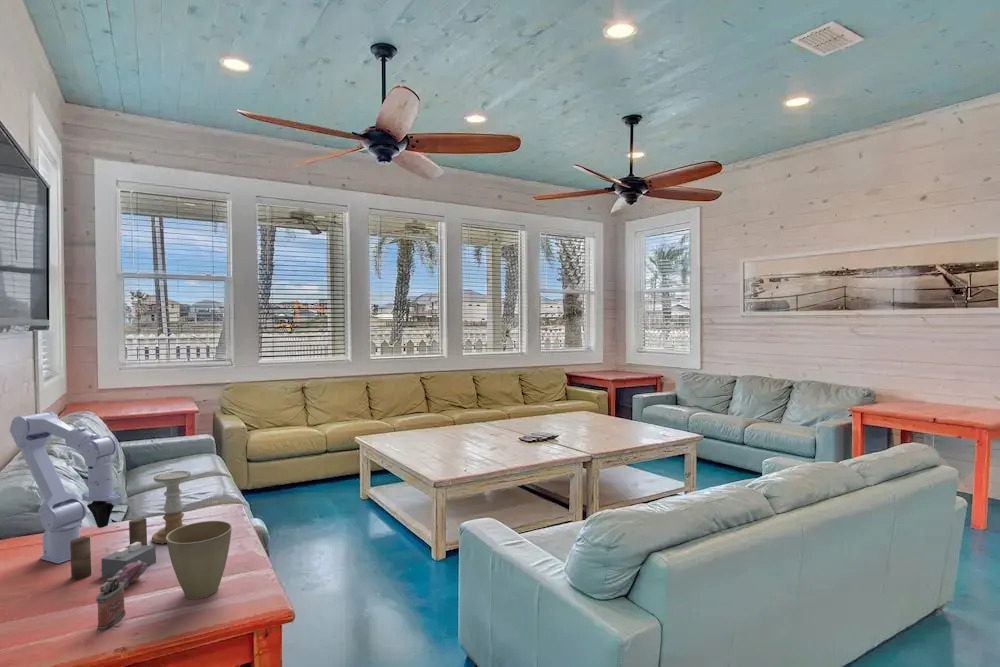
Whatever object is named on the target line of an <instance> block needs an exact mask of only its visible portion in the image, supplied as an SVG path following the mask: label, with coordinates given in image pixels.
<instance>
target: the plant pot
mask: <svg viewBox="0 0 1000 667" xmlns="http://www.w3.org/2000/svg"><path fill="white" fill-rule="evenodd" d="M232 530H233V525H232V524H231V523H230V522H227V521H224V520H206V521H205V520H204V521H198V522H192V523H189V524H186V525H185V526H182V527H179V528H177V529H175V530H173V531H171V532H170V533H169V534H168V535H167V536H166V541H167V544H166V546H167V549H168V550H167V551H168V555H169V558H170V561H171V562H170V563H171V565H172V568H173V571H174V574H175V577H176V578H177V581H178V583H179V585H180V587H181V590H182V592H183V593H184V596H185V597H186V598H187V599H189V598H191V599H192V600H196V598H200V599H202V598H201V597H204V598H206V597H205V596H207V597H209V596H208V595H210V596H212V595H214V594H215V593H216V592H217V591H218V590H219V587H220V585H221V581H222V579H223V575H224V571H225V568H226V564H227V559H228V557H229V550H230V546H231V539H232V538H231V537H232ZM214 592H215V593H214ZM213 593H214V594H213ZM211 594H212V595H211ZM191 599H190V600H191Z"/></svg>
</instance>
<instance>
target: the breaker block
mask: <svg viewBox="0 0 1000 667" xmlns="http://www.w3.org/2000/svg"><path fill="white" fill-rule="evenodd" d="M156 548H157V547H156V545H155V546H154V545H147V546H146V545H141V542H135V543H133V544H131V545H130V544H129V545H127V546H126V547H122V548H120V549H119V550H116V551H115V552H113V553H111V554H108V555H106V556H104V557H102V558H101V576H102V577H108V578H112V577H113V576H114V575H115V574H116V573H117V572H118V571H119V570H121V569H123V568H124V567H125V566H126V565H127V564H130V563H133V562H137V561H138V560H139V561H140V562H144V563H146V564H148V567H147V568H149V567H150V566H152V565H154V564H156V563H157V558H156V557H157V555H156V553H157V552H156V551H157V550H156Z"/></svg>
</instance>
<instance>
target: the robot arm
mask: <svg viewBox="0 0 1000 667" xmlns="http://www.w3.org/2000/svg"><path fill="white" fill-rule="evenodd" d="M9 433H10V434H11V437H12V438H13V441H14V443H15V445H16V447H17V448H19V450H20V452H21V455H22V456H23V459H24V460H25V462H26V464H27V467H28V469H29V471H30V473H31V475H32V477H33V479H34V481H35V483H36V486H37V487H38V489H39V491H40V493H41V495H42V497H43V499H44V500H43V502H42V504H41V505H40V507H39V508H38V509H37V512H38V515H39V518H40V520H39V521H40V524H41V526H42V528H43V529H44V530H45V531H44V532H43V535H42V556H39V559H40V558H41V559H40V560H44V561H47V562H51V563H55V564H58V565H59V564H62V563H65V562H68V561H71V552H70V541H72V540H74V539H76V538H81V536H80V535H81V534H80V533H81V531H80V525H81V524H83V520H84V519H85V518H86V515H87V508H88V510H89V511H90V512H91V514H92V517H93V519H94V521H95V524H96V527H97V528H99V529H101V528H105V527H108V525H109V521H110V519H111V518H110V517H111V514H112V511H113V509H114V508H115V506H116V505H118V504H122V496H120V495H118V494H116V493H115V492H114V489H113V488H114V484H113V464H112V456H113V455H115V452H116V450H117V444H116V441H115V440H114V439H113V438H112V437H111V436H110V435H104V436H99V435H98V434H97V433H93V432H91V431H88V430H87V428H86V427H84V426H82V427H75V428H74V427H72V426H70V425H69V424H67V423H65V422H64V421H63V420H61V419H59V415H58V414H57V413H54V412H53V411H45V412H41V413H40V412H39V413H35V414H27V415H18V416H16V417H14V418H13V419H12V420H11V423H10V427H9ZM53 436H56V437H59V438H60V439H63V440H64V441H65V445H66V446H68V447H70V448H73V449H74V450H76V451H79V452H80V453H81V456H82V457H83V460H84V464H85V467H87V481H88V482H87V484H88V491H87V492H84V493H81V500H80V498H79V497H78V495H77V494H75V493H73V492H69V491H67V490H66V487H64V484H63V482H62V480H61V478H60V476H59V474H58V472H57V469H56V468H55V466H54V464H53V462H52V460H51V457H50V456H49V453H48V451H47V450H46V448H45V446H46V443H48V442H49V441H50V440H51V438H52V437H53ZM83 501H84V502H87V503H88V502H91V503H88V504H87V505H85V503H84V502H83Z"/></svg>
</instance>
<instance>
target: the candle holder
mask: <svg viewBox="0 0 1000 667" xmlns="http://www.w3.org/2000/svg"><path fill="white" fill-rule="evenodd" d="M191 476H192V474H191V471H188V470H175V471H174V470H172V471H167V472H161V473H158V474H156V475H155V476H153V481H154V482H155V483H159V484H161V483H162V484H163V485H164V486H165V487H166V490H165V492H164V493H163V496H164V497H165V503H164V506H163V509H162V510H163V511H164V513H165V514H164V515H163V516H162V519H163V520H164V521H165V526H164V527H162V528H160V529H159V530H158V531H156V532H154V534H153V535H152V537H151V541H152V542H153V543H154V542H155V543H154V544H157V543H161V544H160V545H165V544H164V543H167V541H166V536H167V535H168V534H169V533H170V532H171V531H173V530H175V529H177V528H179V527H182V526H185V525H187V524H184V523H183V520H182V519H183V517H184V516H185V513H184V512H182V510H183V509H184V504H183V501H182V500H181V499H182V498H181V494H182V493H183V490H181V489H180V485H181V483H182V482H183V481H184V480H186V479H189V478H190V477H191Z"/></svg>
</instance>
